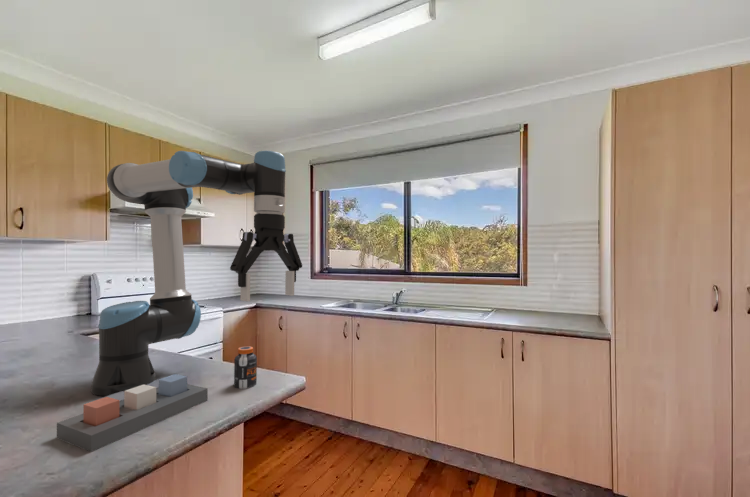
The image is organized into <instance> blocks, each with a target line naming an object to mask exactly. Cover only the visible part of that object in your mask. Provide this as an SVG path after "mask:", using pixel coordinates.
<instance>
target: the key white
mask: <svg viewBox="0 0 750 497" xmlns="http://www.w3.org/2000/svg"><path fill="white" fill-rule="evenodd" d="M156 388H157V387H156V386H152V385H149V384H147V385H141V386H138V387H135V388H132V389H129V390H126V391H123V392H124V394H123V395H124V396H123V397H124V398H123V399H124V407H125V408H129V409H132V410H135V411H136V410H139V409H141V408H144V407H147V406H149V405H152V404H154V403H156Z"/></svg>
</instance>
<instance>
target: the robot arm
mask: <svg viewBox="0 0 750 497" xmlns="http://www.w3.org/2000/svg"><path fill="white" fill-rule="evenodd" d="M109 170H110V171H109V172H108V174H107V176H106V184H107V187H108V189H109V191H110V192H111V193H112V194H113V195H114V196H115V197H116V198H117V199H120V200H122V201H124V202H127V203H130V204H137V205H143V206H144V213H145V214H146V215H148V216H149V217H150V229H151V231H150V232H151V245H152V248H151V249H152V261H153V278H154V279H153V280H154V293H153V295H152V296H151V297H149V302H148V301H146V300H134V301H126V302H121V303H117V304H113V305H110V306H107V307H105V308H104V309H102V310H101V312H100V313H99V322H98V343H99V344H98V354H99V355H98V364H97V368H96V370H95V372H94V375H93V378H92V380H91V384H90V392H91V394H92V395H94V396H104V397H110V396H111V395H114V394H117V393H120V392H124V391H126V390H129V389H132V388H135V387H138V386H141V385H149V384H151V383H153V382H154V381H156V372H155V369H154V366H153V364H152V362H151V358H150V356H149V345H151V344H157V343H162V342H166V341H170V340H171V341H172V340H175V339H177V340H179V339H182V338H185V337H189V336H192V335H193V334H195V332H196V330H197V329H198V328H199V325H200V322H201V317H202V311H201V306H199V302H197V300H195V299H192V293H190V292H189V291H188V290H187V289H186V288H187V287H186V285H187V284H186V273H185V272H186V271H185V257H184V254H185V253H184V240H183V227H182V226H183V225H182V217H183V216H184V214H186V212H187V208H189V207H190V206H191V204H192V202H193V201H192V200H193V199H194V191H193V188H207V189H213V190H217V191H218V190H219V191H225V192H226V193H228V194H229V195H230V194H231V195H245V194H251V193H253V212H254V213H255V214H254V215H253V228H254V230H255V231H254V232H253V231H244V232H242V239H241V243H240V245H239V248H238V249H237V251H236V254H235V257H234V258H233V260H232V262H231V264H230V267H229V270H230V271H233V272H235V274H237V275H238V276H237V285H238V287H239V288H240V301H243V302H251V273H249V272H248V271H249V270H250V269H251V268H252V266H253V265H254V264H255V262H256V261H257V259H258V258H259V256H260V255H261V254H262V253H263V252H264V251H265V252H266V251H267V252H270V251H272V252H276V254H277V255H278V257H280V259H281V261H282V262H283V264H284V266H285V267H286V269H287V270H285V284H284V285H285V287H284V288H285V289H284V290H285V291H284V292H285V296H290V297H293V296H295V283H296V281H297V272H298V271H300V269H301V268H303V264H302V260H301V258H300V254H299V253H298V250H297V246H296V245H295V244H296V243H295V241H294V234H293V233H285V234H284V230H285V229H286V228H285V227H286V226H285V225H286V216H285V215H284V214H285V213H286V212H285V211H286V198H285V197H286V172H287V170H286V160H285V156H284V155H283V154H282V153H281V152H278V151H273V150H259V151H257V152H256V153H255V154H254V158H253V162H251V163H237V162H235V161H234V162H233V161H231V160H230V161H229V160H227V159H226V160H225V159H220V158H217V157H212V156H208V155H204V154H200V153H197V152H196V151H185V150H178V151H175V153H174V155H171V157H170V159H169V158H168V159H165V160H164V159H163V160H159V161H153V162H147V163H142V164H137V163H133V162H126V163H120V164H117V165H115V166H113V167H112V168H111V169H109ZM253 241H255V243H254V244H253ZM252 244H253V246H252ZM251 246H252V247H251ZM250 249H251V250H250Z"/></svg>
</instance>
